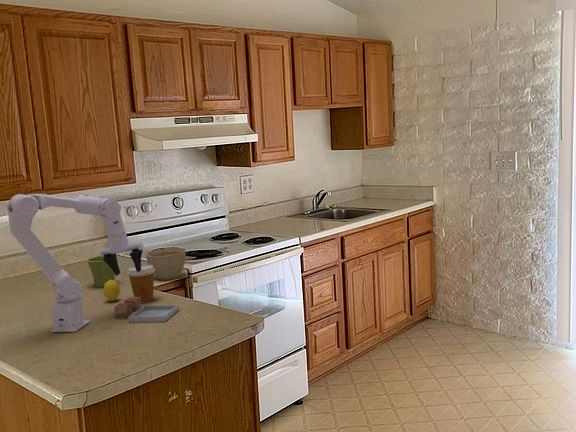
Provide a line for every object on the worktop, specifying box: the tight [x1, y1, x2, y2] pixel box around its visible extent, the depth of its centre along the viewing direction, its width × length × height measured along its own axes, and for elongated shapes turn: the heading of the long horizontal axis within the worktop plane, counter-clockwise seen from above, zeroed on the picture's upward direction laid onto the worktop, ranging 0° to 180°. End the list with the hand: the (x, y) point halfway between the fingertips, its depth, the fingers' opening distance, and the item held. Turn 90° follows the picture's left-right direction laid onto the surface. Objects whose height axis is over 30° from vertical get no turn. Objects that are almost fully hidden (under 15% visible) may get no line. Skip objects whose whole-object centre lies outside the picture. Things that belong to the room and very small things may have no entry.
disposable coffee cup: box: [126, 264, 155, 304], centre depth 202 cm, size 10×10×12 cm
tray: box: [128, 304, 180, 324], centre depth 184 cm, size 12×12×2 cm
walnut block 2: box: [123, 296, 143, 313], centre depth 192 cm, size 4×4×4 cm
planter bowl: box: [145, 247, 187, 281], centre depth 235 cm, size 16×16×11 cm
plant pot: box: [85, 255, 118, 288], centre depth 230 cm, size 12×12×11 cm
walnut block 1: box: [113, 302, 134, 320], centre depth 185 cm, size 4×4×4 cm
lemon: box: [103, 280, 121, 302], centre depth 205 cm, size 6×6×8 cm
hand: (128, 272), depth 189 cm, fingers open, 7 cm apart
